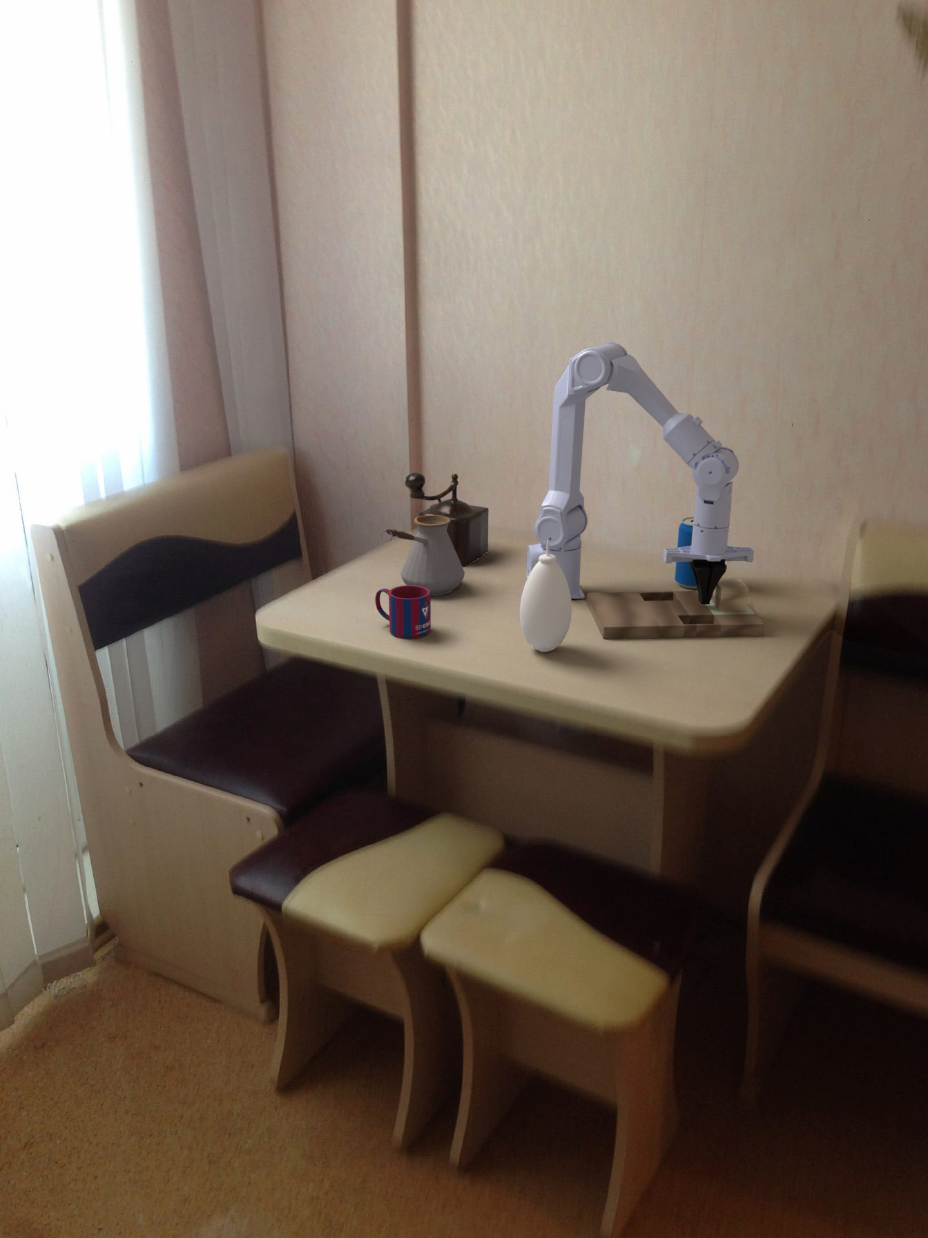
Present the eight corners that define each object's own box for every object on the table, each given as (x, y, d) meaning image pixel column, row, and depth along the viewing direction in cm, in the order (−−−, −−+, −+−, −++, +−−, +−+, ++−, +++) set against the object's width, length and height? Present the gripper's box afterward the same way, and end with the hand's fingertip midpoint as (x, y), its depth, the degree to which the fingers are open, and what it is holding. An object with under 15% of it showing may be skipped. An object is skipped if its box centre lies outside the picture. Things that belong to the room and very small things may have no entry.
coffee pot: (421, 574, 201) (420, 496, 196) (475, 584, 196) (476, 504, 191) (358, 610, 184) (355, 525, 178) (416, 622, 179) (415, 535, 173)
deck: (603, 638, 172) (604, 627, 171) (586, 603, 187) (587, 592, 186) (763, 635, 174) (764, 624, 173) (733, 601, 188) (734, 590, 188)
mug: (412, 642, 170) (411, 602, 168) (366, 627, 176) (365, 588, 174) (439, 630, 175) (439, 590, 173) (393, 616, 181) (393, 577, 179)
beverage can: (708, 579, 199) (714, 516, 195) (712, 591, 193) (718, 526, 189) (673, 578, 200) (677, 515, 195) (676, 589, 194) (681, 525, 189)
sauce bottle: (556, 663, 163) (561, 549, 156) (510, 653, 166) (513, 542, 160) (577, 646, 169) (582, 536, 163) (532, 636, 173) (535, 528, 166)
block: (719, 611, 178) (721, 588, 177) (712, 602, 182) (714, 579, 181) (746, 611, 178) (748, 588, 177) (738, 601, 182) (740, 579, 181)
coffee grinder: (440, 544, 219) (440, 457, 212) (489, 552, 214) (490, 463, 207) (401, 566, 206) (399, 474, 199) (452, 575, 201) (452, 481, 194)
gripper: (673, 531, 170) (666, 611, 175) (762, 530, 171) (754, 610, 176) (662, 519, 177) (656, 596, 182) (749, 518, 178) (741, 595, 183)
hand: (703, 602), depth 180 cm, fingers closed
